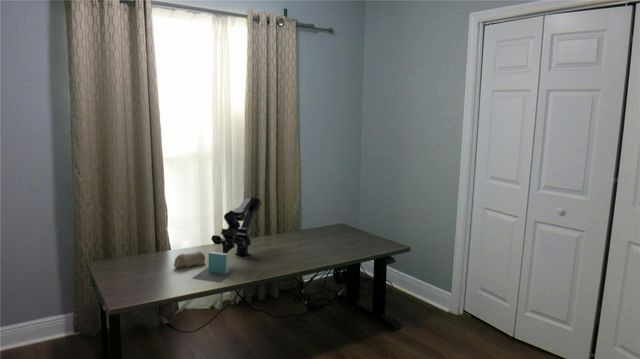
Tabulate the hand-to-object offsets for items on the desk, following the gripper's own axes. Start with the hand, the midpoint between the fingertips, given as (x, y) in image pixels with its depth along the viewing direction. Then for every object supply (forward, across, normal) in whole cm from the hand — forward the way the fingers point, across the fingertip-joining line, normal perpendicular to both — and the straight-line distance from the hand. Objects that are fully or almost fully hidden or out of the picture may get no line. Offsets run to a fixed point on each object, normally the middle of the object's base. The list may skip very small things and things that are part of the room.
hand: (223, 254), depth 242 cm
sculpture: (+8, -19, +4) cm, 20 cm away
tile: (+10, 0, +1) cm, 10 cm away
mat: (+13, 0, -2) cm, 13 cm away
